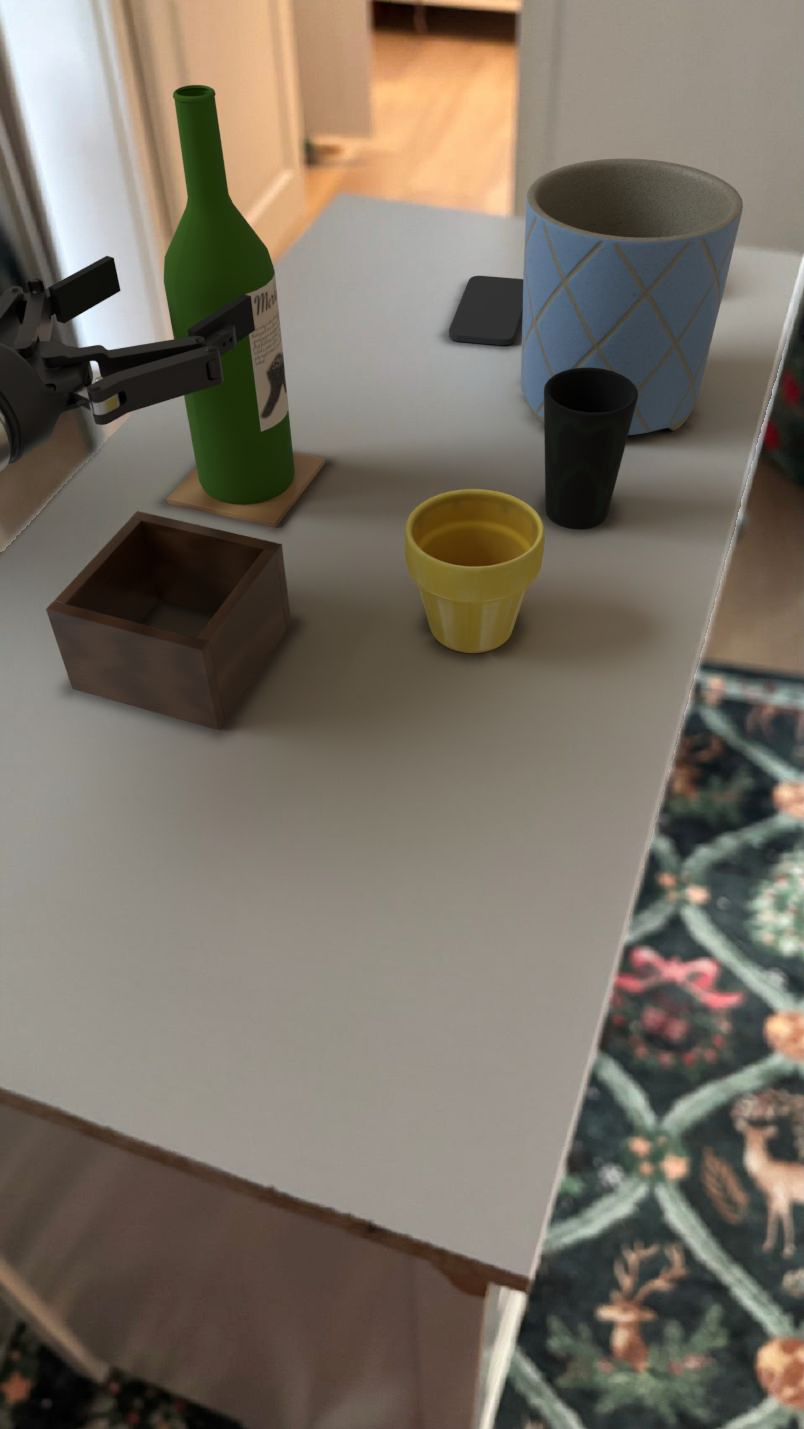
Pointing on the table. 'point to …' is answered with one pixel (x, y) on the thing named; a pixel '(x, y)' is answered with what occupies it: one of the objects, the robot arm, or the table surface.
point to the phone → (489, 311)
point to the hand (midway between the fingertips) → (179, 292)
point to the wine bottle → (199, 281)
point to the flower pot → (473, 564)
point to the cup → (584, 443)
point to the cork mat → (260, 513)
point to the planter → (626, 279)
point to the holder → (162, 663)
